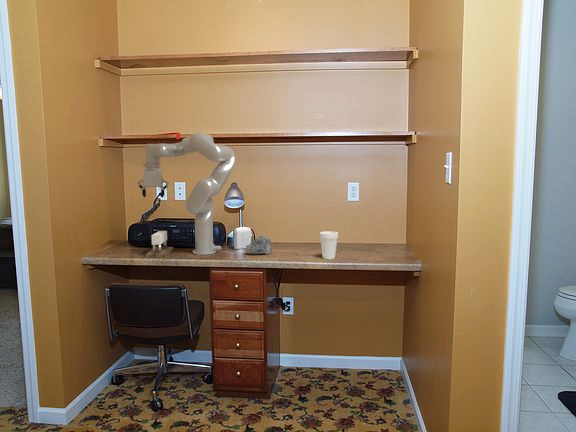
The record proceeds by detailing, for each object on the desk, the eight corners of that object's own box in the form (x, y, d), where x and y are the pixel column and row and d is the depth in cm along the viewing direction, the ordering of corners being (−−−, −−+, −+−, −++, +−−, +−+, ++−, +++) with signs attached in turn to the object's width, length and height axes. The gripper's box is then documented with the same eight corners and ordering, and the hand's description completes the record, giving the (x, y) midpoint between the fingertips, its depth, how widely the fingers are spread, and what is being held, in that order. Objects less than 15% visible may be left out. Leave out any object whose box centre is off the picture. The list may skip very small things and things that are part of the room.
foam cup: (335, 255, 236) (335, 231, 235) (340, 259, 227) (340, 233, 226) (317, 256, 235) (317, 231, 233) (321, 259, 226) (322, 234, 224)
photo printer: (248, 246, 261) (248, 225, 259) (252, 248, 257) (252, 226, 256) (232, 248, 255) (232, 227, 254) (236, 250, 252) (236, 228, 250)
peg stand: (173, 249, 253) (173, 239, 252) (164, 256, 233) (164, 245, 232) (155, 249, 253) (155, 239, 252) (145, 257, 233) (145, 245, 232)
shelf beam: (160, 244, 235) (160, 235, 234) (151, 244, 235) (151, 235, 234) (167, 239, 250) (166, 230, 249) (159, 239, 249) (159, 230, 249)
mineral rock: (245, 255, 237) (244, 236, 236) (250, 251, 247) (250, 233, 246) (268, 256, 235) (268, 237, 234) (273, 252, 245) (272, 234, 244)
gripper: (135, 166, 244) (135, 197, 246) (167, 166, 245) (167, 197, 247) (138, 165, 251) (139, 196, 254) (170, 166, 253) (170, 196, 255)
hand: (153, 197), depth 250 cm, fingers open, 9 cm apart
